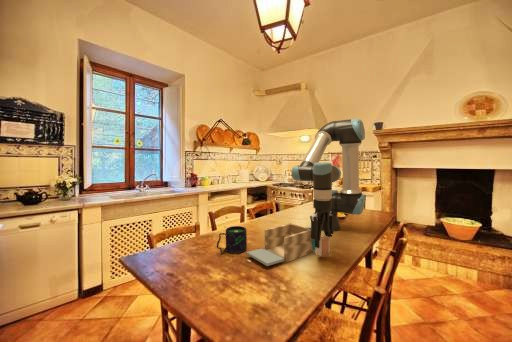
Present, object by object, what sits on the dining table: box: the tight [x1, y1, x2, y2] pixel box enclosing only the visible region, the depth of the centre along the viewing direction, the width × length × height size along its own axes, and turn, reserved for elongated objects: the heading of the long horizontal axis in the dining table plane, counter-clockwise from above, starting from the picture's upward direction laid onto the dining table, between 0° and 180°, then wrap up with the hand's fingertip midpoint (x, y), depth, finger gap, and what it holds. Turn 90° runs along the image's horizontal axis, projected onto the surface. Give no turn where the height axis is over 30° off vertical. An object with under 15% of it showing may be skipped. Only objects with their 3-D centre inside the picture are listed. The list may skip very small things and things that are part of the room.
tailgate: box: [246, 247, 285, 267], centre depth 98 cm, size 1×14×10 cm
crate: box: [264, 223, 314, 263], centre depth 106 cm, size 17×14×10 cm
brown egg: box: [317, 236, 330, 258], centre depth 99 cm, size 5×5×7 cm
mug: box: [216, 225, 248, 255], centre depth 108 cm, size 15×10×10 cm, turn 117°
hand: (322, 252), depth 99 cm, fingers closed on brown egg, 5 cm apart
